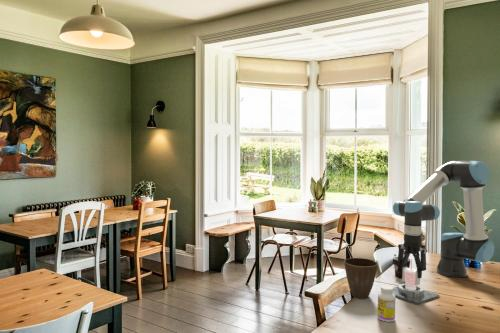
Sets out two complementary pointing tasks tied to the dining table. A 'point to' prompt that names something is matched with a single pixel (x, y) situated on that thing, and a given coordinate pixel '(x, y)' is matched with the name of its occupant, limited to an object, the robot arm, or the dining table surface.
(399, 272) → the coffee mug
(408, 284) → the beverage cup
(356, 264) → the plant pot
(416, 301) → the sleeve block
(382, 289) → the supplement bottle
